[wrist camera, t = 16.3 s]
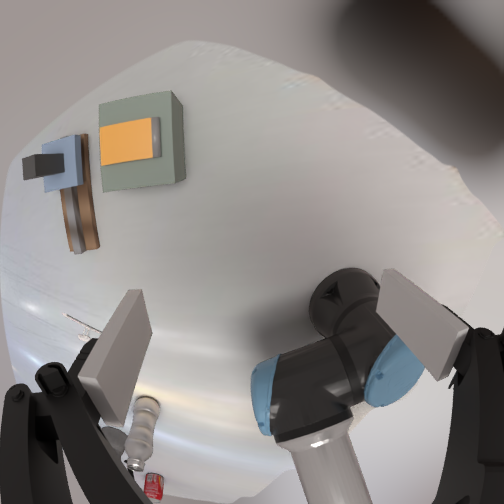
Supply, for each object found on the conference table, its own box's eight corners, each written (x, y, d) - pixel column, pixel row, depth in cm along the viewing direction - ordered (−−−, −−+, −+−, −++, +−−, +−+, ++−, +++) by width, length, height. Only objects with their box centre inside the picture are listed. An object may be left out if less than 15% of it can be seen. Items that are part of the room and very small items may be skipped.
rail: (100, 246, 43) (92, 252, 40) (73, 249, 43) (65, 255, 40) (87, 134, 37) (78, 133, 34) (61, 141, 36) (50, 141, 33)
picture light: (118, 338, 50) (115, 344, 48) (115, 351, 51) (112, 357, 49) (62, 310, 47) (58, 315, 45) (61, 325, 48) (57, 330, 46)
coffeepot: (92, 429, 60) (78, 472, 43) (101, 419, 58) (85, 466, 41) (134, 450, 64) (126, 494, 47) (146, 442, 63) (138, 490, 46)
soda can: (157, 480, 73) (155, 504, 61) (142, 473, 71) (139, 498, 59) (167, 477, 72) (165, 502, 60) (152, 470, 70) (149, 496, 58)
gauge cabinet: (185, 178, 42) (175, 183, 32) (124, 185, 41) (99, 193, 31) (182, 105, 38) (171, 90, 28) (120, 115, 37) (95, 105, 27)
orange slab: (162, 156, 31) (159, 156, 30) (104, 165, 30) (101, 165, 29) (160, 117, 29) (158, 116, 28) (103, 128, 29) (99, 127, 27)
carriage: (88, 183, 38) (49, 192, 27) (56, 189, 37) (15, 201, 26) (85, 135, 35) (45, 131, 24) (53, 144, 35) (11, 145, 24)
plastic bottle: (132, 403, 56) (116, 466, 37) (141, 390, 55) (124, 457, 36) (155, 413, 58) (144, 477, 39) (165, 401, 57) (155, 469, 38)
